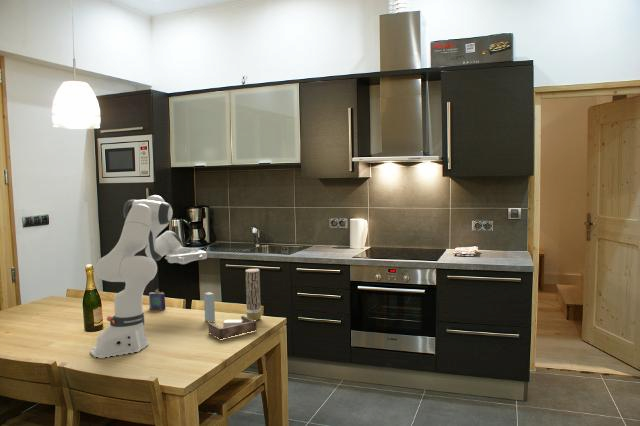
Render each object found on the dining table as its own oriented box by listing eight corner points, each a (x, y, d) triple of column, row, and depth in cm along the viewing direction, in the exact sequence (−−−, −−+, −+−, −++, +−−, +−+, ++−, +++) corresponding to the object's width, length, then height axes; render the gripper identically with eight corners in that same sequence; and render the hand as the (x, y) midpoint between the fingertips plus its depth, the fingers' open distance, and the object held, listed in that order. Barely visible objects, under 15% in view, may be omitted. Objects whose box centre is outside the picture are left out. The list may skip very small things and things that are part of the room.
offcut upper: (223, 329, 225) (223, 322, 224) (225, 326, 229) (225, 319, 229) (241, 328, 224) (240, 322, 224) (242, 326, 229) (242, 319, 229)
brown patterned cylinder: (244, 320, 246) (242, 270, 244) (252, 316, 252) (250, 268, 250) (255, 322, 243) (254, 271, 241) (263, 318, 249) (262, 269, 247)
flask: (148, 309, 271) (147, 290, 270) (151, 308, 273) (150, 288, 273) (164, 310, 269) (163, 290, 268) (166, 308, 271) (166, 289, 271)
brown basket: (220, 340, 217) (220, 329, 217) (208, 333, 227) (208, 323, 226) (256, 332, 228) (256, 321, 228) (243, 325, 238) (243, 315, 237)
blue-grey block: (209, 323, 243) (208, 294, 242) (205, 320, 247) (203, 293, 246) (214, 321, 245) (213, 293, 244) (210, 319, 249) (209, 292, 248)
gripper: (163, 251, 258) (173, 254, 247) (200, 247, 270) (211, 250, 259) (163, 263, 258) (173, 267, 247) (200, 259, 270) (211, 262, 260)
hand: (193, 258), depth 253 cm, fingers open, 8 cm apart
